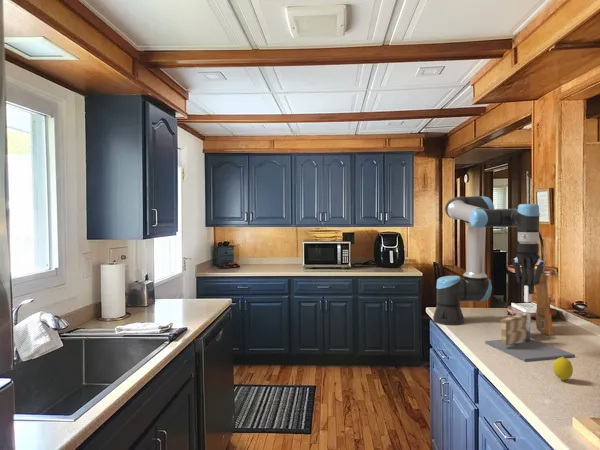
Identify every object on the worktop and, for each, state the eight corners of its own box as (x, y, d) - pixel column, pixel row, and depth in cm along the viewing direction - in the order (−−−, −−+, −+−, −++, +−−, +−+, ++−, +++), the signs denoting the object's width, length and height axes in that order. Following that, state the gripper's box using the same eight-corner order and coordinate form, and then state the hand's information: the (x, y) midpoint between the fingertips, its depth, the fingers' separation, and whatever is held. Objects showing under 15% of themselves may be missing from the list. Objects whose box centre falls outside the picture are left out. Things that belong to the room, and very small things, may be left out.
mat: (485, 343, 186) (485, 340, 186) (529, 339, 190) (529, 337, 190) (524, 361, 162) (524, 358, 162) (574, 357, 166) (574, 354, 166)
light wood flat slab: (521, 337, 185) (521, 313, 185) (526, 338, 183) (526, 314, 183) (500, 344, 176) (500, 319, 175) (506, 345, 174) (506, 320, 173)
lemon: (549, 377, 146) (549, 354, 146) (565, 377, 146) (565, 353, 146) (560, 384, 140) (560, 359, 140) (576, 383, 141) (576, 359, 141)
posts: (502, 345, 182) (502, 315, 182) (526, 341, 187) (526, 311, 187) (508, 347, 179) (508, 316, 179) (532, 343, 184) (532, 313, 184)
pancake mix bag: (539, 335, 196) (539, 274, 195) (530, 325, 214) (530, 269, 213) (556, 337, 194) (556, 274, 193) (545, 326, 212) (545, 269, 211)
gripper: (507, 242, 174) (506, 300, 175) (540, 244, 164) (539, 305, 165) (516, 241, 179) (516, 297, 180) (549, 243, 168) (549, 303, 169)
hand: (527, 301), depth 172 cm, fingers closed
